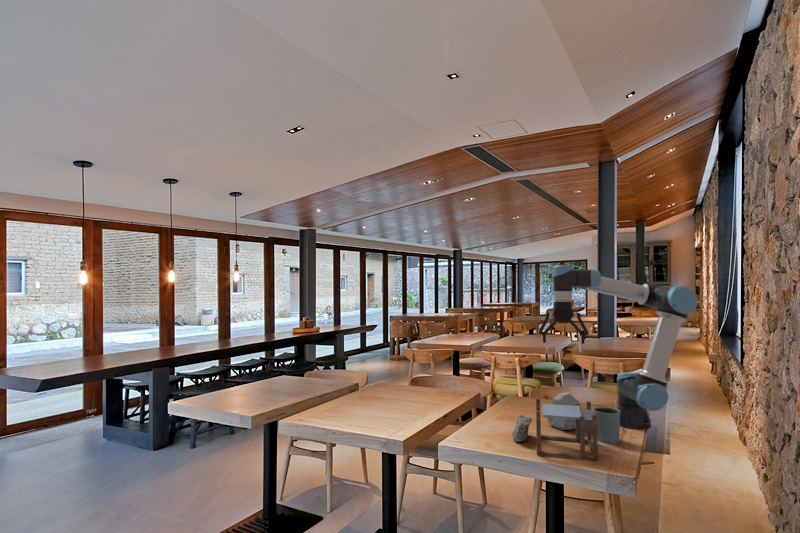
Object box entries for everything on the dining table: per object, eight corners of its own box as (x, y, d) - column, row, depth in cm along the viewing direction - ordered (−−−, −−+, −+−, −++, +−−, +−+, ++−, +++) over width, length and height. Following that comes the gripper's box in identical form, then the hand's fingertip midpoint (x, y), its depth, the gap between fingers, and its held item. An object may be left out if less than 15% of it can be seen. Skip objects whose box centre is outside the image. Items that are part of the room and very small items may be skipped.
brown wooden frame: (591, 441, 191) (590, 401, 191) (597, 460, 170) (596, 415, 171) (536, 437, 196) (536, 398, 197) (536, 455, 176) (536, 411, 177)
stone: (566, 422, 218) (565, 389, 218) (586, 429, 206) (586, 394, 207) (546, 425, 213) (545, 391, 214) (565, 433, 202) (565, 397, 202)
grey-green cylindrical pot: (618, 445, 186) (618, 414, 187) (591, 441, 192) (590, 411, 192) (622, 438, 195) (621, 408, 195) (596, 434, 200) (595, 405, 201)
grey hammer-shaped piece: (592, 421, 189) (592, 406, 189) (598, 435, 172) (597, 418, 173) (542, 418, 194) (542, 403, 194) (543, 430, 178) (543, 414, 178)
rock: (525, 445, 185) (527, 419, 187) (504, 441, 189) (506, 415, 191) (535, 441, 199) (536, 416, 201) (515, 437, 203) (517, 413, 205)
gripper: (592, 301, 204) (593, 350, 203) (532, 300, 210) (533, 348, 210) (595, 301, 196) (596, 353, 196) (532, 301, 203) (533, 351, 202)
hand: (563, 351), depth 203 cm, fingers open, 13 cm apart
